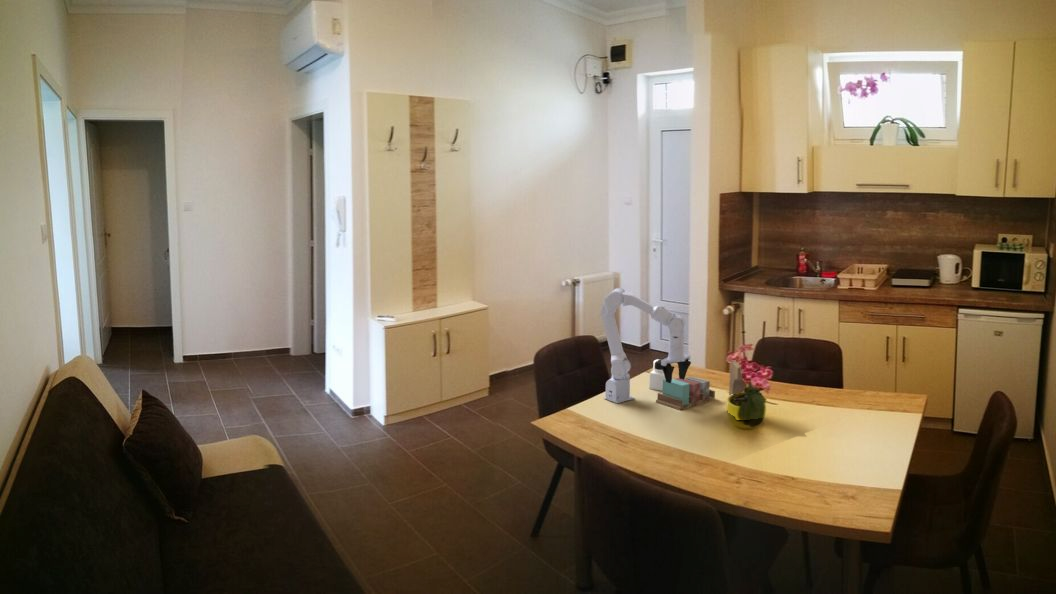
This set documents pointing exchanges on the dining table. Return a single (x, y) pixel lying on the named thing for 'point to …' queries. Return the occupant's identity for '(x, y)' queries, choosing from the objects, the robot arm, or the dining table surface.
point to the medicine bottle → (656, 376)
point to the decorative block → (736, 379)
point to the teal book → (677, 390)
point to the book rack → (697, 394)
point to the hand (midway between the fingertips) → (675, 380)
